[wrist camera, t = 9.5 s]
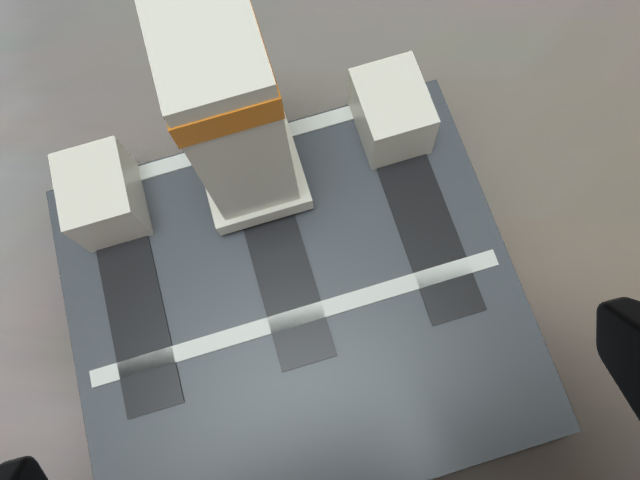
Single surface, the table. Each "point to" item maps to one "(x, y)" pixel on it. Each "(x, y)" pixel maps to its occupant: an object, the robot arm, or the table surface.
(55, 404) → the table surface
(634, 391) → the robot arm
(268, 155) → the block
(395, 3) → the table surface
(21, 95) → the table surface
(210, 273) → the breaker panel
